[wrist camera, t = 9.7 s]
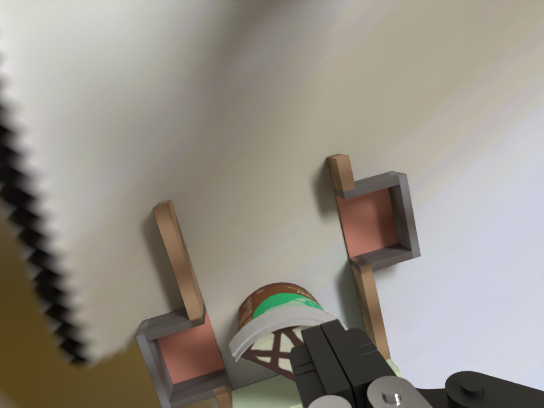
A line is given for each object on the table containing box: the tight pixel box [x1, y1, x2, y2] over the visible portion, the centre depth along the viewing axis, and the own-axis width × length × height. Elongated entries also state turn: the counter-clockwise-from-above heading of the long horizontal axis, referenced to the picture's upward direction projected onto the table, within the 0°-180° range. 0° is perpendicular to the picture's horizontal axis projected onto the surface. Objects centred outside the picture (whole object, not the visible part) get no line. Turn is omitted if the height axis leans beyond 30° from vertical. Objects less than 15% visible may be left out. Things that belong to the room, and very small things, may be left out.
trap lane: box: [136, 154, 421, 408], centre depth 35 cm, size 23×29×5 cm
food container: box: [229, 282, 348, 382], centre depth 33 cm, size 12×6×10 cm, turn 60°
